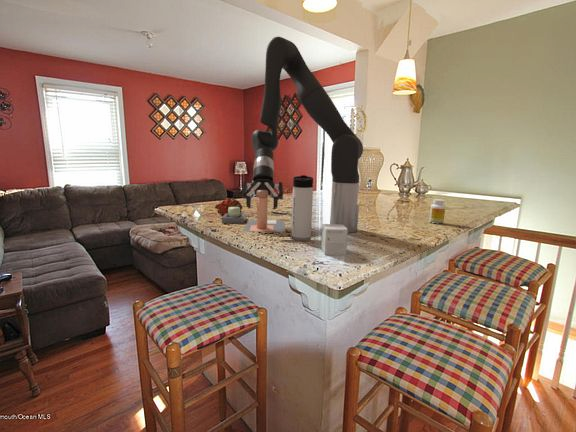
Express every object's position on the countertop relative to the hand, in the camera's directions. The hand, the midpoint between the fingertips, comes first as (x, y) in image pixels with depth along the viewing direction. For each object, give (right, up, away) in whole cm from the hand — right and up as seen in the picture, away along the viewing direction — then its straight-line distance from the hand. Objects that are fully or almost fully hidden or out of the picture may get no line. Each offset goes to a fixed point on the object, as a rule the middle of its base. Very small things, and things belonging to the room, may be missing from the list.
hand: (261, 207), depth 104 cm
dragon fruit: (-16, -3, +26) cm, 31 cm away
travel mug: (+13, -10, -5) cm, 17 cm away
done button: (-12, -4, +13) cm, 18 cm away
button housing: (-12, -6, +13) cm, 19 cm away
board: (+1, -7, +7) cm, 10 cm away
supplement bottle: (+70, -6, +23) cm, 74 cm away
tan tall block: (0, -7, +3) cm, 7 cm away
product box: (+22, -13, -18) cm, 31 cm away
